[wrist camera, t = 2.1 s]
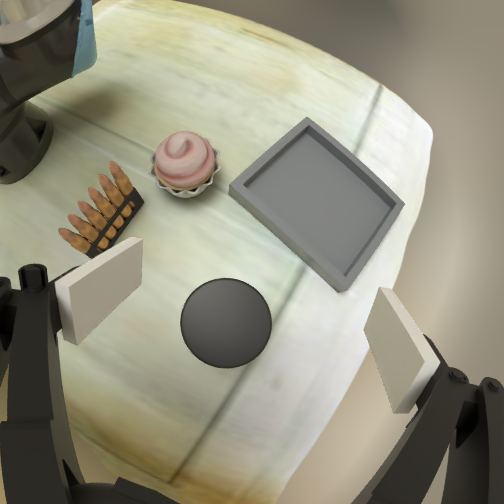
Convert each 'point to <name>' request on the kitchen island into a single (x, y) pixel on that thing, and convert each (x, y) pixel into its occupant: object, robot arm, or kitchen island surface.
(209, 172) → the cupcake
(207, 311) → the jar
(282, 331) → the kitchen island surface
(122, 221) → the ammunition clip
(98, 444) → the kitchen island surface
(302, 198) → the tray
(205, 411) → the kitchen island surface
